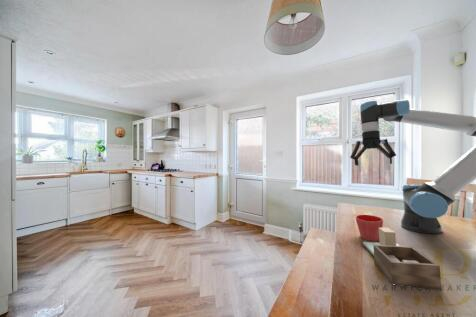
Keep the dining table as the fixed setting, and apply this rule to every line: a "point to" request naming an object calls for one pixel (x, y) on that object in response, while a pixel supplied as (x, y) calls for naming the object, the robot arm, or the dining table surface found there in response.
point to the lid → (383, 239)
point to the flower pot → (369, 226)
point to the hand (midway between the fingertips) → (373, 171)
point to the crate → (407, 266)
